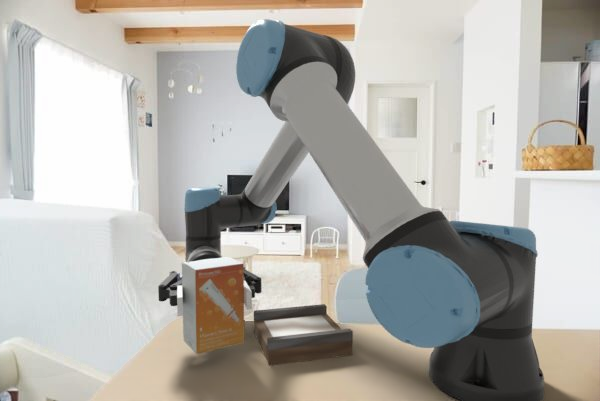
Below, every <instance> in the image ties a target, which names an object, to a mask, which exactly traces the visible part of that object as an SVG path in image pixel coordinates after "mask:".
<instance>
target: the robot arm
mask: <svg viewBox="0 0 600 401" xmlns="http://www.w3.org/2000/svg"><path fill="white" fill-rule="evenodd" d="M237 51H238V52H237V57H236V58H237V60H236V65H235V67H236V70H235V71H236V80H237V84H238V86H239V88H240V89H241V91H242V92H243V93H244V94H246V95H248V96H251V97H253V98H256V97H261V98H262V100H264V101H265V103H266V104H267V106H268V108H269V109H270V111H271V112H272V114H273V115H274V117H275V118H277V119H278V120H280V121H282V122H283V124H282V126H281V128H280V129H279V131H278V133H277V135H276V137H275V138H274V140H273V141H272V143H271V145H269V148H268V150H267V151H266V152H265V154H264V156H263V158H262V159H261V160H260V162H259V164H258V166H257V168H256V170H255V171H254V173H253V174H252V177H250V180H249V181H248V183H247V185H246V186H245V187H244V189H243V190H242V192H241V193H240V194H225V195H224V194H221V191H220V189H219V188H218V187H192V188H187V189H186V192H185V196H184V219H185V221H184V222H185V253H184V254H185V262H191V261H198V260H204V259H213V258H222V257H223V256H222V243H221V242H222V241H221V240H222V239H221V238H222V236H221V234H222V232H221V231H222V230H223V229H231V228H238V227H249V226H250V227H251V226H261V225H264V224H269V223H270V222H272V221H273V220H274V219H275V218H276V212H277V211H278V210H277V209H278V208H277V207H278V206H277V202H276V201H277V199H278V197H279V196H280V195H281V193H282V191H283V190H284V189H285V188H286V186H287V184H288V183H289V182H290V180H292V177H293V176H294V175H295V173H296V172H297V170H298V169H299V167H300V166H301V165H302V163H303V161H304V160H305V159H306V157H307V155H308V154H310V157H311V158H312V159H313V161H314V162H315V164H316V166H317V167H318V169H319V171H320V172H321V174H322V175H323V177H324V179H325V180H326V182H327V183H328V184H329V186H330V187H331V190H332V191H333V193H334V194H335V195H336V197H337V199H338V201H339V202H340V204H341V205H342V206H343V208H344V210H345V212H346V213H347V215H348V216H349V218H350V220H351V221H352V222H353V225H355V227H356V229H357V231H358V232H359V233H360V235H361V237H362V238H363V240H364V241H365V247H364V252H363V255H362V261H363V263H364V264H365V266H366V267H367V271H366V274H365V285H366V286H367V290H366V291H365V295H366V301H367V303H368V305H369V309H370V311H371V313H372V314H373V316H374V317H375V319H376V320H377V322H378V323H379V324H380V325H381V327H382V328H384V329H385V330H386V331H387V332H388V333H389V334H390V335H391V336H392V337H394V338H395V339H396V340H398V341H400V342H402V343H405V344H408V345H411V346H414V347H416V348H422V349H425V348H426V349H432V348H433V350H432V352H431V353H430V355H429V362H428V364H429V365H428V372H429V373H428V374H429V378H430V380H431V381H432V383H433V384H434V385H435V386H436V387H437V388H439V389H440V390H441V391H442V392H444V393H445V394H447V395H449V396H451V397H453V398H454V399H457V400H459V401H542V400H543V399H544V395H545V394H544V392H545V376H544V373H543V370H542V369H541V367H540V362H539V358H538V353H537V350H536V347H535V343H534V340H533V319H534V318H533V317H534V304H535V303H534V299H535V286H536V285H535V284H536V282H535V281H536V266H537V264H536V263H537V257H538V254H539V253H538V250H537V238H536V235H535V233H534V231H532V230H531V229H529V228H526V227H519V226H510V225H501V224H500V225H499V224H492V223H491V224H489V223H482V222H480V223H479V222H471V221H461V220H448V218H447V217H446V215H444V213H443V211H442V210H440V209H439V208H432V207H426V206H423V205H422V204H421V203H420V202H419V200H418V199H417V197H416V196H415V195H414V193H413V192H412V191H411V189H410V188H409V186H408V185H407V184H406V182H405V181H404V180H403V179H402V177H401V176H400V174H399V173H398V172H397V170H396V169H395V168H394V166H393V165H392V163H391V162H390V161H389V159H388V157H386V156H385V154H384V153H383V151H382V150H381V148H380V147H379V146H378V144H377V143H376V142H375V140H374V139H373V137H372V136H371V135H370V133H369V132H368V130H366V128H365V127H364V125H363V124H362V122H361V121H360V120H359V118H358V117H357V116H356V114H355V113H354V112H353V110H352V109H351V107H350V106H349V103H350V100H351V98H352V95H353V93H354V92H353V91H354V88H355V83H356V67H355V62H354V59H353V56H352V54H351V53H350V51H349V50H348V48H347V47H346V46H345V45H344V43H342V42H341V41H339V40H338V39H336V38H335V37H333V36H328V35H325V34H321V33H317V32H314V31H311V30H307V29H303V28H300V27H297V26H293V25H289V24H285V23H284V22H283V21H281V20H272V19H269V18H263V19H260V20H258V21H256V22H254V23H253V24H252V25H251V26H249V28H248V29H247V31H246V32H245V34H244V36H243V38H242V40H241V42H240V45H239V48H238V50H237ZM157 288H158V289H157V290H158V293H157V294H158V301H159V302H165V301H167V300H168V299H169V305H170V306H171V307H177V308H176V309H177V317H181V316H182V317H183V294H182V274H181V273H180V272H177V271H176V270H171V271H169V275H168V276H167V277H166V278H164V280H163V281H162V282H160V283H159V285H158V286H157ZM261 293H262V277H260V276H258V275H256V274H254V273H252V272H251V271H249V270H247V269H246V266H244V307H245V308H246V310H252V309H253V300H252V299H254V298H256V294H261Z"/></svg>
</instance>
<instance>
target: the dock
mask: <svg viewBox="0 0 600 401" xmlns="http://www.w3.org/2000/svg"><path fill="white" fill-rule="evenodd" d="M327 308H328V306H327V305H326V304H324V303H321V304H314V305H313V304H312V305H301V306H291V307H281V308H268V309H261V310H260V309H258V310H253V333H254V335H255V338H256V340H257V342H258V344H259V347H260V348H261V351H262V353H263V356H264V358H265V360H266V363H267V365H268V366H277V365H283V364H284V365H285V364H291V363H299V362H305V361H306V362H308V361H314V360H322V359H323V360H324V359H329V358H337V357H345V356H347V357H348V356H353V344H354V343H353V337H354V336H353V334H354V332H353V330H352V329H351V328H344V329H342V328H341V327H340V326H339V325H338V324H337V323H336V321H335V320H333V319H332V317H330V316H329V315H328V314H327Z"/></svg>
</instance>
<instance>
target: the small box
mask: <svg viewBox="0 0 600 401" xmlns="http://www.w3.org/2000/svg"><path fill="white" fill-rule="evenodd" d="M244 267H245V266H244V263H243V262H242V261H238V260H237V259H235V258H232V257H230V256H224V257H223V256H222V258H213V259H204V260H198V261H191V262H186V261H184V262H181V275H182V294H183V316H182V328H183V329H182V334H183V342H184V343H185V344H186V345H187V347H189V348H190V349H191V350H192V352H193V353H195V355H199V354H202V353H206V352H210V351H214V350H218V349H221V348H227V347H231V346H235V345H241V344H244V343H245V304H244Z"/></svg>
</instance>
